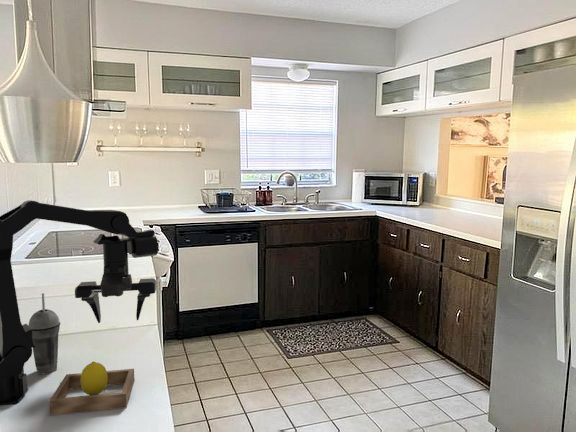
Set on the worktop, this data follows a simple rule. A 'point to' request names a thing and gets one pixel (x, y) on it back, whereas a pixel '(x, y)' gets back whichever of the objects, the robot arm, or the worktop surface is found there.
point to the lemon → (94, 378)
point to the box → (91, 402)
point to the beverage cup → (45, 339)
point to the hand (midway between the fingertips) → (118, 321)
